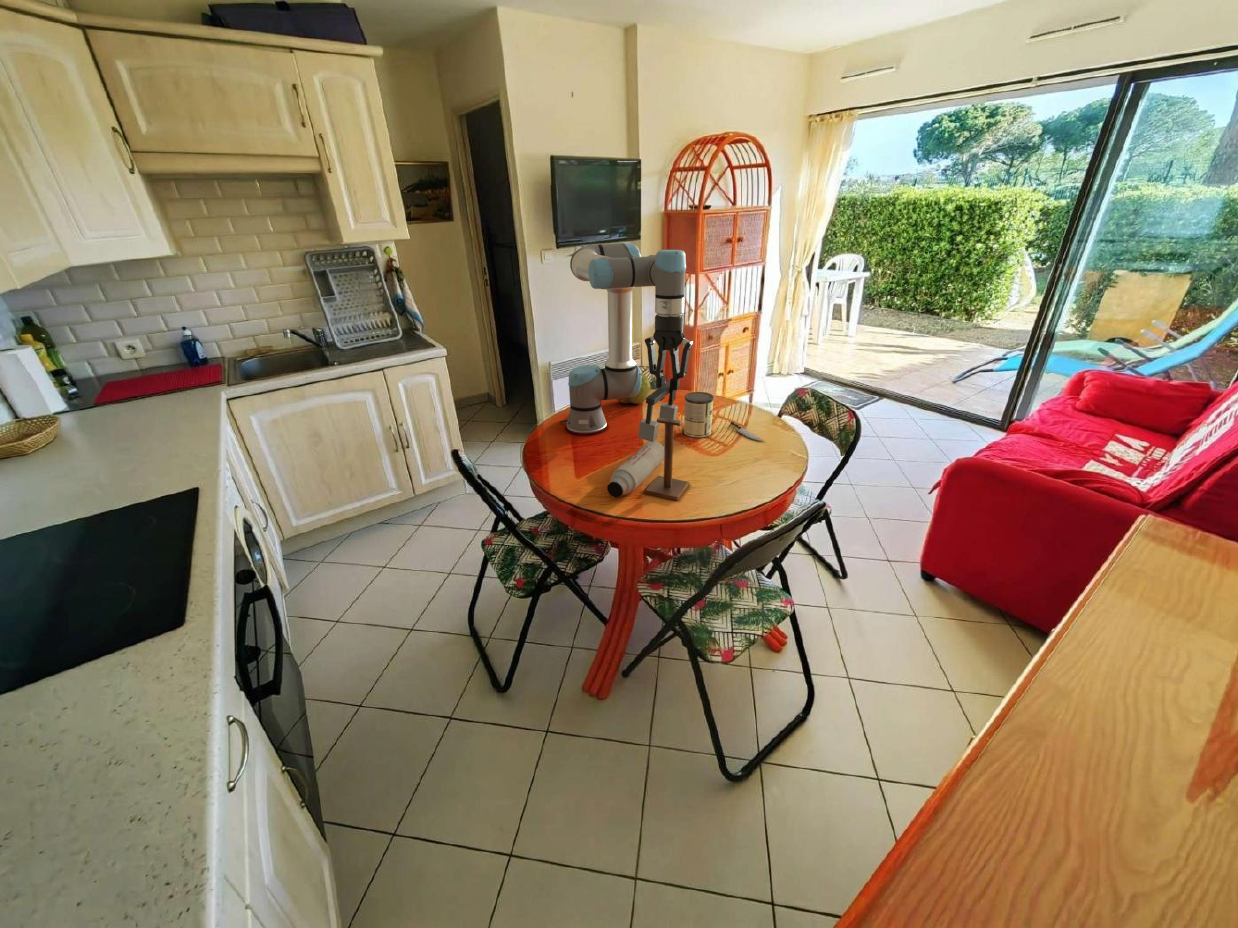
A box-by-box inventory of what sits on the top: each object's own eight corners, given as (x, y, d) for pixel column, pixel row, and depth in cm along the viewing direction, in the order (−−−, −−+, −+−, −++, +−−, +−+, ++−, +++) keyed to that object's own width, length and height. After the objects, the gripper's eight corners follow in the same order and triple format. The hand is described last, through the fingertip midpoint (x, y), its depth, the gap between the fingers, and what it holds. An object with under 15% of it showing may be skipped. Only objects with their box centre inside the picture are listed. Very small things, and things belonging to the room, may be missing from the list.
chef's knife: (756, 444, 180) (763, 441, 181) (757, 441, 179) (764, 439, 180) (725, 425, 195) (732, 423, 196) (725, 422, 195) (732, 420, 196)
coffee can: (683, 426, 195) (684, 391, 189) (710, 427, 194) (712, 391, 188) (683, 437, 186) (685, 400, 179) (712, 438, 185) (714, 401, 178)
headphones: (638, 438, 138) (642, 396, 132) (662, 417, 152) (667, 378, 146) (652, 442, 137) (657, 400, 131) (676, 420, 150) (681, 382, 144)
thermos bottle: (642, 439, 166) (600, 476, 144) (664, 441, 162) (625, 479, 140) (644, 462, 169) (603, 500, 147) (666, 464, 165) (628, 504, 143)
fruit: (615, 410, 212) (605, 375, 211) (621, 411, 226) (611, 378, 225) (653, 398, 209) (642, 363, 208) (656, 399, 223) (646, 366, 223)
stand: (645, 493, 149) (645, 423, 140) (658, 478, 157) (659, 412, 148) (677, 500, 145) (680, 429, 136) (689, 485, 153) (692, 417, 144)
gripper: (636, 314, 133) (636, 400, 143) (693, 318, 127) (688, 408, 137) (647, 310, 139) (647, 392, 149) (702, 313, 133) (698, 399, 143)
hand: (667, 399), depth 143 cm, fingers closed on headphones, 2 cm apart
